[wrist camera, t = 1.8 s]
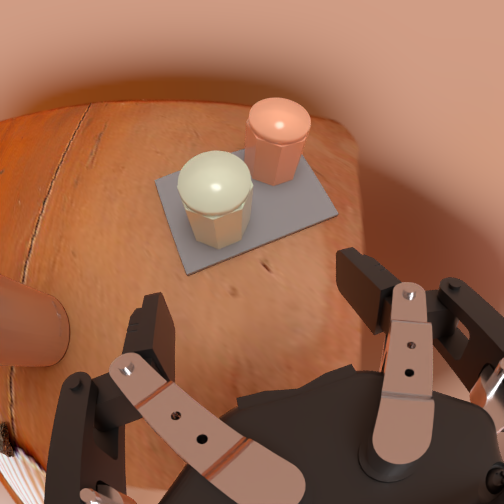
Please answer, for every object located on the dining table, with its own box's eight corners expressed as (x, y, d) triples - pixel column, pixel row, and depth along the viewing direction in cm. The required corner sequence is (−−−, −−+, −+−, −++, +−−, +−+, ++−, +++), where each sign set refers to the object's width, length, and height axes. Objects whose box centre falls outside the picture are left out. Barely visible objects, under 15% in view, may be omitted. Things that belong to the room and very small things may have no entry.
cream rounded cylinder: (202, 255, 31) (190, 223, 23) (183, 207, 32) (169, 164, 24) (256, 234, 32) (263, 196, 24) (234, 188, 34) (234, 142, 25)
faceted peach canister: (259, 191, 34) (265, 145, 26) (238, 152, 35) (239, 104, 27) (305, 175, 35) (322, 131, 27) (282, 139, 36) (292, 93, 28)
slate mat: (187, 275, 30) (186, 274, 30) (155, 182, 34) (154, 180, 33) (337, 216, 34) (338, 213, 33) (289, 138, 37) (289, 136, 37)
